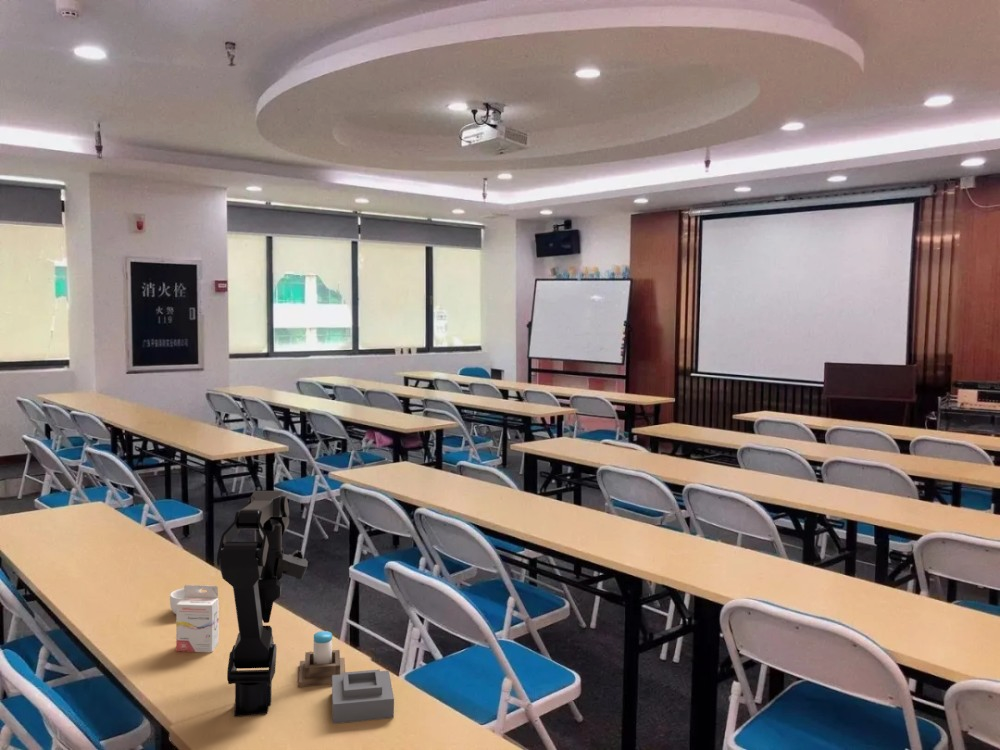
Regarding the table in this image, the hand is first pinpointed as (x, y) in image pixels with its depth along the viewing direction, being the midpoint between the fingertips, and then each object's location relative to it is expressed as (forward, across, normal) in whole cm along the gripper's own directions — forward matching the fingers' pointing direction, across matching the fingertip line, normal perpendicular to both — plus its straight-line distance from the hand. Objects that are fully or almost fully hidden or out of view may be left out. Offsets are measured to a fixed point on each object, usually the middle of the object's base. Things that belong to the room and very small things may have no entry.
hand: (268, 614), depth 167 cm
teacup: (+13, +37, +24) cm, 46 cm away
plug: (+12, -4, -12) cm, 17 cm away
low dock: (+13, -4, -12) cm, 18 cm away
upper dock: (+13, -19, -20) cm, 31 cm away
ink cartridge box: (+13, +14, +17) cm, 26 cm away
